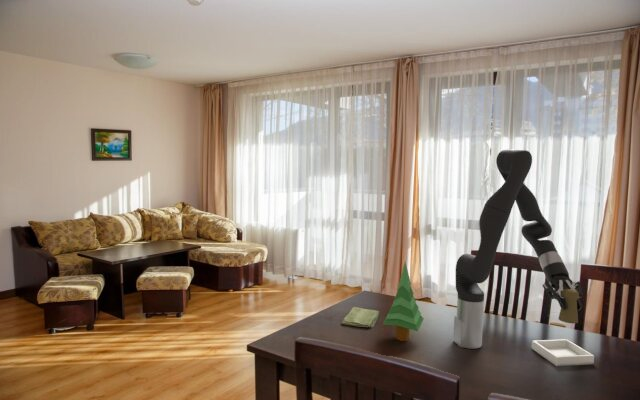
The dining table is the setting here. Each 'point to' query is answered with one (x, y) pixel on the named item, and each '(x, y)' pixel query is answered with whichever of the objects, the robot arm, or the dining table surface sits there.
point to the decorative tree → (404, 309)
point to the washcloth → (361, 317)
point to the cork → (569, 306)
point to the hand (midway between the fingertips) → (572, 309)
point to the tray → (562, 352)
